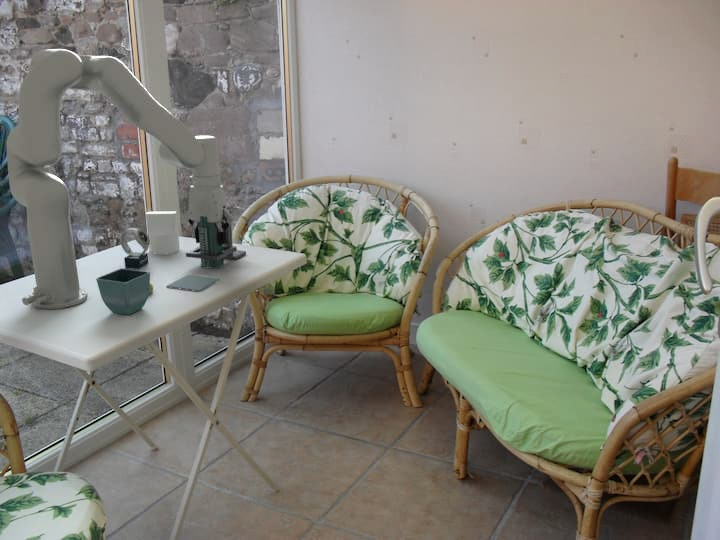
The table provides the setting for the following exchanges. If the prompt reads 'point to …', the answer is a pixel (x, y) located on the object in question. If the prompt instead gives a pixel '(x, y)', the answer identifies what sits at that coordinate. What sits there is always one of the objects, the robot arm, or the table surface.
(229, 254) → the ring stand
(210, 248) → the can
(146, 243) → the watch
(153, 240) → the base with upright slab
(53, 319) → the table surface
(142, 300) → the flower pot
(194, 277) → the coaster
